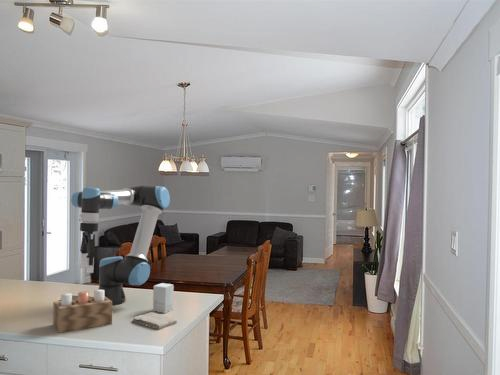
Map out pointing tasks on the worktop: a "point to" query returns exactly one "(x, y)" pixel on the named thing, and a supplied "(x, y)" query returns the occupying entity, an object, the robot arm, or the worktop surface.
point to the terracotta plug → (83, 297)
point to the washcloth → (154, 320)
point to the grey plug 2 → (99, 295)
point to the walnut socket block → (82, 314)
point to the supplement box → (163, 297)
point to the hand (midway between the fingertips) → (86, 270)
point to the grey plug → (66, 299)
